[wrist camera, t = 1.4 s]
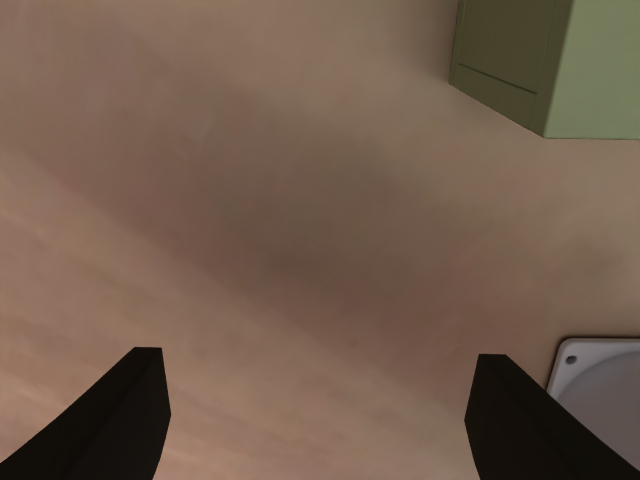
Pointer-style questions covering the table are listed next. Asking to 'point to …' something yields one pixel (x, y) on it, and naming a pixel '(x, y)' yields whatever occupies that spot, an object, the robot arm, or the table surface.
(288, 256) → the table surface
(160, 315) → the table surface
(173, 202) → the table surface
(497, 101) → the cabinet
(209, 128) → the table surface
